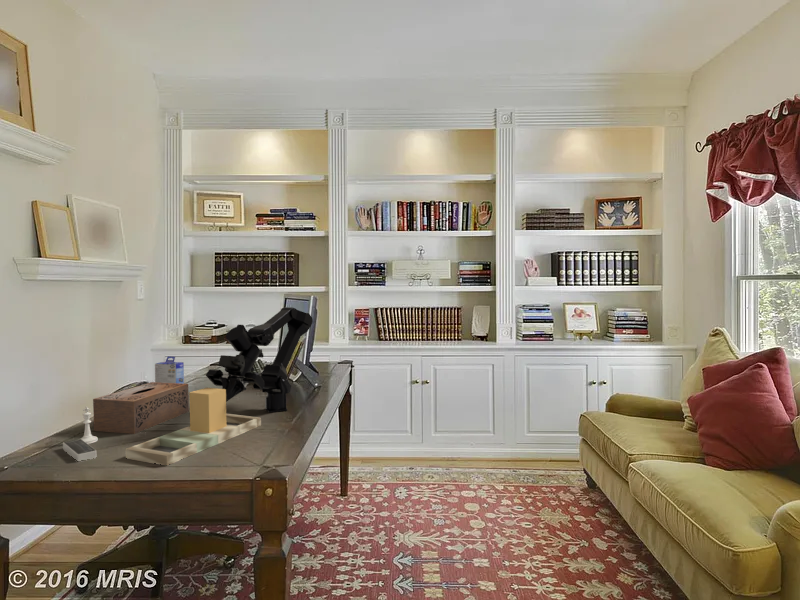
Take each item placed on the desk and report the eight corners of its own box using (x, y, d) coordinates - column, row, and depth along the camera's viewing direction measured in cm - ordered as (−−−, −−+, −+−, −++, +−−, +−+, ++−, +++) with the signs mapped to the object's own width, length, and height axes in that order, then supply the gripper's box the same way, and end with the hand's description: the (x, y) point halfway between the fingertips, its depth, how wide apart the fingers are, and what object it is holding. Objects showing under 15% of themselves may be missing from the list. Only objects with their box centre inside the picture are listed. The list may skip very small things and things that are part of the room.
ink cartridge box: (185, 391, 211) (184, 356, 211) (176, 394, 206) (175, 358, 205) (163, 390, 213) (162, 355, 213) (154, 393, 208) (153, 357, 207)
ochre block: (207, 423, 155) (207, 387, 155) (226, 426, 153) (225, 389, 152) (190, 430, 149) (189, 392, 149) (209, 433, 146) (208, 394, 146)
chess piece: (80, 439, 149) (78, 405, 148) (99, 437, 151) (98, 403, 150) (75, 445, 144) (74, 409, 144) (95, 443, 146) (94, 408, 145)
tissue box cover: (152, 410, 183) (152, 382, 183) (189, 412, 180) (188, 383, 179) (94, 431, 158) (93, 399, 157) (134, 434, 155) (133, 401, 154)
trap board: (225, 421, 168) (225, 413, 167) (261, 425, 162) (260, 417, 162) (125, 458, 133) (125, 448, 133) (166, 465, 128) (166, 455, 128)
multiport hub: (77, 463, 131) (77, 454, 131) (62, 450, 141) (62, 442, 141) (97, 459, 134) (97, 450, 134) (81, 446, 144) (80, 438, 144)
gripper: (209, 343, 164) (183, 385, 154) (258, 346, 157) (234, 389, 147) (227, 364, 171) (203, 405, 162) (274, 368, 164) (252, 410, 155)
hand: (222, 402), depth 156 cm, fingers closed
